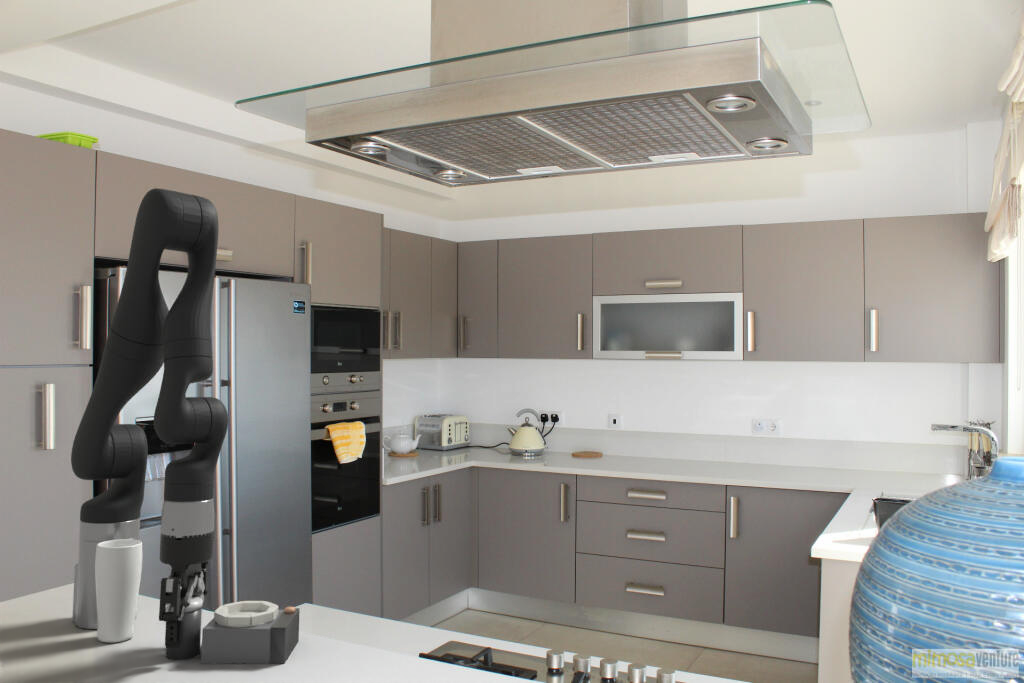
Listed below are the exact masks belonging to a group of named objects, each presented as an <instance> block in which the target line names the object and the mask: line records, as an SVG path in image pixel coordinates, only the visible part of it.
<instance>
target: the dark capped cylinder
mask: <svg viewBox="0 0 1024 683" xmlns="http://www.w3.org/2000/svg"><path fill="white" fill-rule="evenodd" d="M203 604H204V602H203V599H202V598H200V597H192V598H191V602H190V605H189V606H188V607H186V608H185V612H184V617H183V620H182V621H183V633H182V645H181V646H180V647H178V648H167V647H166V646H165V659H167V660H170V661H186V660H191V659H194V658H197V657H199V656H200V654H201V639H202V638H201V637H202V635H201V634H202V614H201V611H202V612H203V610H202V609H203V608H202V607H203ZM173 608H174V607H173ZM173 608H172V610H171V612H173Z"/></svg>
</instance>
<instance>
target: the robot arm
mask: <svg viewBox="0 0 1024 683" xmlns="http://www.w3.org/2000/svg"><path fill="white" fill-rule="evenodd" d="M218 244H219V218H218V212H217V208H216V206H215V205H214V203H213V202H212V201H211V200H210V199H208V198H206V197H203V196H200V195H195V194H191V193H186V192H180V191H176V190H171V189H165V188H152V189H150V190H149V191H147V192H146V194H145V195H144V196H143V198H142V200H141V201H140V203H139V207H138V210H137V213H136V216H135V223H134V228H133V232H132V238H131V243H130V250H129V255H128V260H127V267H126V270H125V274H124V278H123V283H122V287H121V290H120V293H119V294H120V295H119V298H118V301H117V305H116V308H115V311H114V315H113V318H112V319H111V320H112V321H111V323H110V327H109V330H108V334H107V336H106V340H105V345H104V349H103V354H102V358H101V361H100V365H99V369H98V371H97V372H98V373H97V377H96V379H95V383H94V386H93V388H92V392H91V393H90V396H89V399H88V403H87V405H86V407H85V410H84V412H83V415H82V417H81V420H80V422H79V425H78V428H77V431H76V433H75V436H74V438H73V444H72V447H71V454H70V464H71V468H72V469H71V470H72V472H73V473H74V476H76V477H77V478H78V479H81V480H84V481H100V480H112V483H111V485H110V486H109V487H108V488H107V489H106V490H105V491H103V492H101V493H100V494H98V495H96V496H95V497H93V498H90V499H88V500H87V501H86V500H85V502H83V503H82V504H81V507H80V514H79V520H80V521H79V534H78V536H79V537H78V538H79V540H78V560H77V561H78V563H77V564H75V566H74V574H73V576H74V578H73V595H72V596H73V599H72V622H75V625H76V626H77V627H78V628H80V629H81V628H82V629H89V630H97V627H98V625H97V602H96V583H95V557H96V546H97V544H98V543H101V542H104V541H110V540H119V539H134V540H140V537H141V536H140V532H141V531H140V529H141V511H142V510H141V508H142V506H143V502H144V497H145V485H146V476H147V466H148V456H149V455H148V453H149V452H148V446H149V445H148V439H147V435H146V432H145V431H144V429H143V427H141V426H140V425H137V424H134V423H119V424H118V423H116V424H115V422H116V420H117V419H118V416H119V414H120V413H121V412H122V410H123V409H124V407H125V406H126V404H127V403H129V401H130V400H132V398H133V397H134V396H136V395H137V394H138V393H139V392H140V391H141V390H142V389H143V388H145V386H146V385H148V383H149V382H150V381H151V380H153V378H155V377H156V376H157V373H158V372H159V371H160V370H161V369H162V367H163V373H162V380H161V384H160V385H161V386H160V390H159V394H158V397H157V398H158V399H157V402H156V405H155V410H154V415H153V427H154V428H153V429H154V431H155V433H156V435H157V437H158V438H159V440H161V441H162V442H163V443H165V444H167V445H184V444H185V445H186V444H193V447H192V449H191V451H190V452H189V454H188V455H186V456H184V457H182V458H178V459H174V460H172V461H170V462H168V464H167V465H166V467H165V469H164V470H165V471H164V482H163V483H164V485H163V504H162V509H161V516H160V517H161V518H160V535H159V536H160V538H159V541H160V543H159V561H160V563H162V564H164V565H169V566H170V567H171V569H170V574H169V575H168V577H163V578H161V581H160V591H159V592H160V594H159V595H160V596H159V608H158V609H159V612H158V621H159V622H165V633H164V634H165V635H164V646H165V648H166V647H167V648H178V647H180V646H181V645H182V633H183V621H182V620H183V617H184V612H185V608H186V607H188V606H189V605H190V602H191V598H192V597H200V598H202V599H203V603H204V602H205V597H207V596H208V594H209V563H210V561H211V560H212V559H213V556H214V542H215V541H214V539H215V538H214V537H215V535H214V534H215V532H214V531H215V506H214V505H215V504H214V488H215V487H214V484H215V471H216V467H217V464H218V460H219V457H220V453H221V450H222V448H223V444H224V441H225V438H226V436H227V432H228V427H229V415H228V410H227V408H226V405H225V404H224V403H223V402H222V401H221V400H220V399H219V398H216V397H213V396H212V397H211V396H201V397H200V396H196V397H195V396H186V395H187V391H188V388H189V386H190V385H191V384H194V383H195V384H196V383H200V382H204V381H207V380H209V379H210V378H211V377H212V376H213V372H214V358H213V344H212V343H213V342H212V323H211V322H212V321H211V320H212V303H213V302H212V300H213V293H214V284H215V276H216V265H217V255H218ZM164 250H165V251H167V250H168V251H175V252H179V253H180V252H181V253H187V262H188V264H187V266H188V267H187V268H188V269H187V275H186V279H185V280H184V281H185V282H184V283H183V285H182V288H181V290H180V291H179V294H178V295H177V297H176V299H175V300H174V302H173V304H172V305H171V307H170V309H169V307H168V305H167V303H166V300H165V297H164V294H163V292H162V288H161V284H160V280H159V274H160V273H159V272H160V264H161V260H162V255H163V252H164ZM173 607H174V608H173ZM172 608H173V612H171V610H172ZM202 612H203V610H202V611H201V615H202ZM136 619H137V617H136V618H135V620H136Z"/></svg>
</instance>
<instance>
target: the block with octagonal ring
mask: <svg viewBox="0 0 1024 683" xmlns="http://www.w3.org/2000/svg"><path fill="white" fill-rule="evenodd" d="M300 610H301V609H300V608H296V606H286V607H284V609H279V605H278V604H275V603H273V602H271V601H267V600H266V601H265V600H243V601H242V600H240V601H237V602H236V601H235V602H230V603H225V604H223V605H220V606H219V607H218V608H217V609H215V610H214V612H213V618H212V619H211V620H210V621H209V622H208V623H207V624H206V625H205V626H204V627H203V628H202V629H201V634H202V635H201V637H202V638H201V661H200V662H201V664H218V663H240V665H241V663H245V664H246V665H247V664H257V665H258V664H260V665H261V664H262V665H263V664H268V665H269V664H274V665H275V664H276V665H277V664H285V663H286V662H287V660H288V659H289V657H290V655H291V654H292V653H293V651H294V649H295V648H296V646H297V645H298V643H299V641H300V640H299V638H300Z"/></svg>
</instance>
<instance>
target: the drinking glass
mask: <svg viewBox="0 0 1024 683" xmlns="http://www.w3.org/2000/svg"><path fill="white" fill-rule="evenodd" d="M142 570H143V541H141V540H140V539H139V540H134V539H119V540H110V541H104V542H101V543H98V544H97V546H96V557H95V583H96V602H97V625H98V627H97V629H96V634H97V635H96V636H97V640H98V641H100V642H103V643H107V644H109V643H111V644H112V643H120V642H125V641H128V640H130V639H131V638H133V637H134V635H135V631H136V628H135V627H136V619H137V608H138V600H139V593H140V592H139V591H140V587H141V579H142ZM135 618H136V619H135Z"/></svg>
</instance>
